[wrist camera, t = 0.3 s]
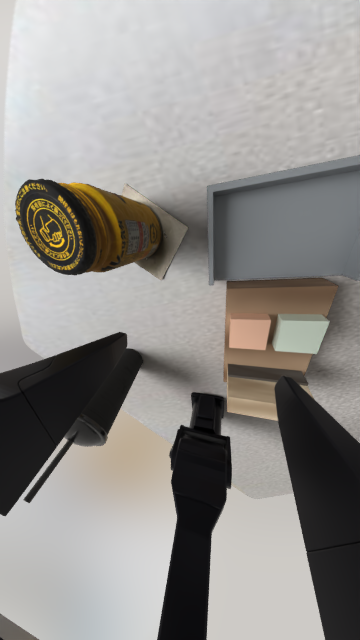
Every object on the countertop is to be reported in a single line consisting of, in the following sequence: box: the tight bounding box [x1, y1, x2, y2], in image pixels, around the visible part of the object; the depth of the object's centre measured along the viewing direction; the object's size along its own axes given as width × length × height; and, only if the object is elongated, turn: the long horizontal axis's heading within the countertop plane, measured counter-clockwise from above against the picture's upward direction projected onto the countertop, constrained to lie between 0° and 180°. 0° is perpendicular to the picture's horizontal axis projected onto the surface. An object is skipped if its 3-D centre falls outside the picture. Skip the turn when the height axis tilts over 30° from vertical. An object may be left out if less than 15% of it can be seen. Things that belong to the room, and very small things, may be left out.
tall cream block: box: [227, 364, 314, 421], centre depth 20 cm, size 3×9×5 cm, turn 96°
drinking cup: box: [24, 349, 143, 503], centre depth 23 cm, size 8×8×20 cm
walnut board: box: [224, 278, 338, 382], centre depth 21 cm, size 15×10×3 cm, turn 6°
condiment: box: [15, 179, 188, 280], centre depth 15 cm, size 7×8×12 cm
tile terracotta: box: [229, 313, 271, 350], centre depth 18 cm, size 4×4×2 cm
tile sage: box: [272, 314, 330, 354], centre depth 17 cm, size 4×4×2 cm
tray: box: [207, 155, 360, 285], centre depth 15 cm, size 9×14×2 cm, turn 96°
